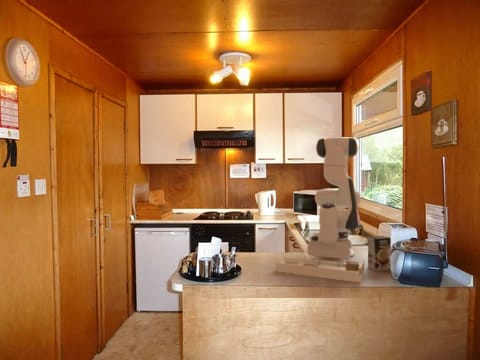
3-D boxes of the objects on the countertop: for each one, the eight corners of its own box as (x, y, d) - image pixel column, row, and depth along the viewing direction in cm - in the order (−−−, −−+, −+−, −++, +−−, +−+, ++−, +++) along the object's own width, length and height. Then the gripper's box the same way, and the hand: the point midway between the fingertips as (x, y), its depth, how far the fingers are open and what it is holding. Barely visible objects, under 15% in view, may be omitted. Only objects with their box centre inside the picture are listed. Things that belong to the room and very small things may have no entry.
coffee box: (375, 271, 166) (375, 238, 166) (367, 267, 172) (367, 236, 172) (391, 269, 169) (391, 237, 168) (382, 266, 175) (382, 235, 174)
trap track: (284, 264, 179) (284, 252, 179) (364, 274, 161) (364, 260, 161) (276, 271, 167) (275, 258, 167) (361, 282, 150) (361, 268, 149)
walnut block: (347, 268, 161) (347, 260, 161) (358, 269, 159) (358, 261, 158) (345, 271, 156) (345, 263, 156) (357, 273, 154) (357, 264, 154)
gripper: (352, 237, 160) (352, 266, 161) (309, 234, 169) (309, 261, 169) (350, 240, 154) (350, 270, 155) (306, 237, 163) (306, 265, 164)
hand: (328, 265), depth 162 cm, fingers open, 8 cm apart
